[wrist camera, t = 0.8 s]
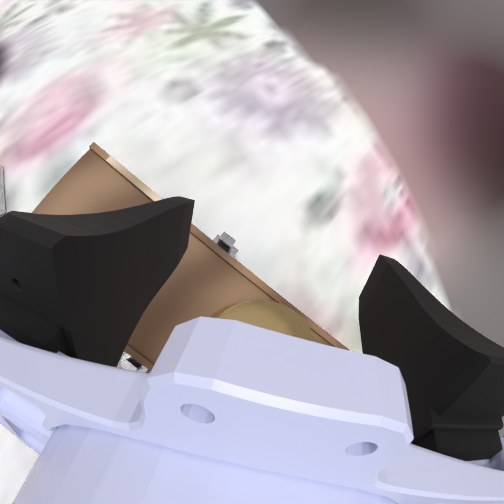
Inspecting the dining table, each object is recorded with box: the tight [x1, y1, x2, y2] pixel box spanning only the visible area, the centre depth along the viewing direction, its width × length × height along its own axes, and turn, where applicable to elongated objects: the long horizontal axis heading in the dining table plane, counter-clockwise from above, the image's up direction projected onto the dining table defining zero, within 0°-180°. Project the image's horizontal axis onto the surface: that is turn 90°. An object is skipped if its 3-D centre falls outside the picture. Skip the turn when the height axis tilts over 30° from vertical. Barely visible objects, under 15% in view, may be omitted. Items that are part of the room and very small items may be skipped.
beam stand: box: [120, 232, 238, 373], centre depth 23 cm, size 2×12×4 cm, turn 145°
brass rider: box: [210, 300, 315, 342], centre depth 21 cm, size 8×8×3 cm
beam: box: [32, 142, 349, 371], centre depth 22 cm, size 26×10×2 cm, turn 55°
